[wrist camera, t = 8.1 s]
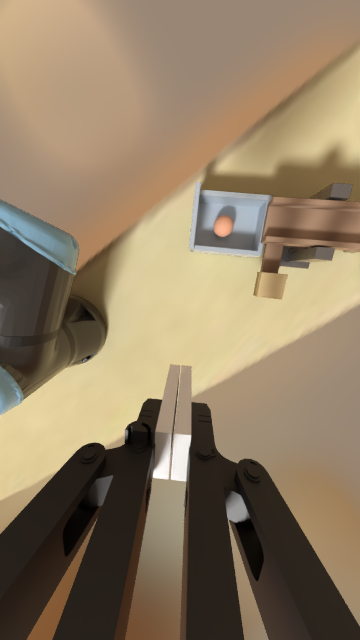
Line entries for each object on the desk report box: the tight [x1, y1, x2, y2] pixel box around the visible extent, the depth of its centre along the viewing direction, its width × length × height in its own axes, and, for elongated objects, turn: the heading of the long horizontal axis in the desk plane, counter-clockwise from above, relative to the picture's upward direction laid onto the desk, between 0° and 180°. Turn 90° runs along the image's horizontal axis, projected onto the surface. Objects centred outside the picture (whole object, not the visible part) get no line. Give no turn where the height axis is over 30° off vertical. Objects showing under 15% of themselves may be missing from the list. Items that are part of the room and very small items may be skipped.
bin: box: [189, 182, 273, 258], centre depth 33 cm, size 12×9×7 cm
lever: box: [253, 197, 360, 299], centre depth 29 cm, size 18×14×3 cm
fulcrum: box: [279, 183, 358, 269], centre depth 31 cm, size 13×11×10 cm
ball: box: [214, 215, 234, 237], centre depth 34 cm, size 3×3×3 cm
